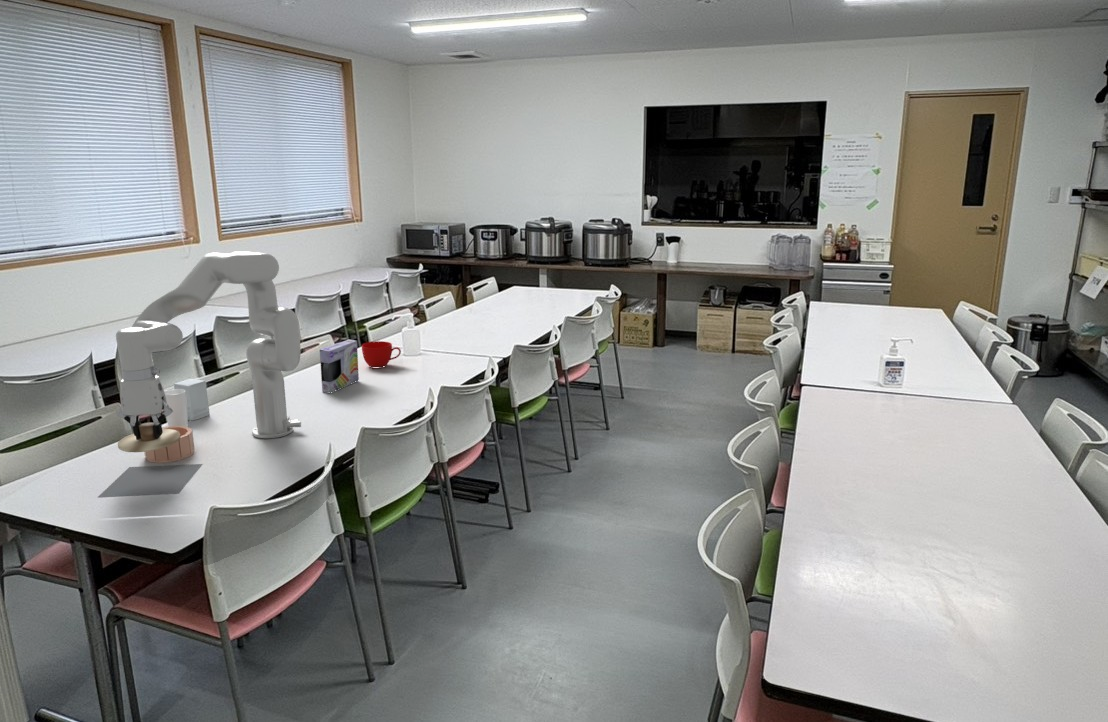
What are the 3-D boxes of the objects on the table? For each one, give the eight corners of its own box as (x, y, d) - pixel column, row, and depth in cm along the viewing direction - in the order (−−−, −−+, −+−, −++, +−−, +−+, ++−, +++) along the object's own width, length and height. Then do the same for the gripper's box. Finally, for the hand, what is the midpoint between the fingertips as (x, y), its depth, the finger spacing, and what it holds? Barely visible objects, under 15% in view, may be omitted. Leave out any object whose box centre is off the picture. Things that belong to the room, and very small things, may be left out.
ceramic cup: (398, 370, 312) (397, 348, 309) (359, 370, 312) (358, 347, 309) (404, 363, 324) (403, 341, 322) (367, 362, 324) (366, 341, 322)
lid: (187, 429, 205) (185, 414, 204) (169, 450, 191) (166, 433, 190) (131, 432, 203) (128, 417, 201) (108, 453, 189) (105, 436, 187)
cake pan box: (330, 394, 278) (326, 350, 273) (319, 393, 279) (316, 349, 275) (360, 381, 295) (358, 339, 290) (350, 380, 297) (347, 338, 292)
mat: (202, 465, 210) (202, 463, 210) (178, 494, 191) (178, 493, 191) (129, 468, 207) (129, 467, 207) (97, 498, 188) (97, 497, 188)
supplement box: (210, 414, 253) (206, 380, 250) (192, 421, 247) (188, 386, 243) (195, 411, 256) (191, 377, 253) (177, 417, 250) (173, 383, 246)
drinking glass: (181, 440, 229) (175, 395, 225) (162, 438, 230) (157, 393, 227) (195, 433, 236) (190, 389, 232) (177, 431, 237) (172, 387, 233)
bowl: (200, 446, 224) (197, 425, 222) (185, 462, 212) (183, 440, 210) (155, 448, 222) (152, 426, 221) (138, 464, 210) (135, 442, 208)
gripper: (177, 368, 196) (186, 431, 201) (111, 370, 194) (122, 434, 199) (166, 376, 189) (176, 441, 194) (98, 379, 187) (110, 444, 192)
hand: (149, 436), depth 196 cm, fingers closed on lid, 4 cm apart
